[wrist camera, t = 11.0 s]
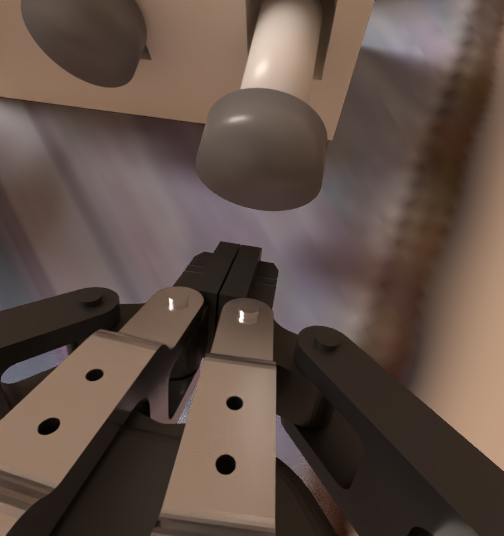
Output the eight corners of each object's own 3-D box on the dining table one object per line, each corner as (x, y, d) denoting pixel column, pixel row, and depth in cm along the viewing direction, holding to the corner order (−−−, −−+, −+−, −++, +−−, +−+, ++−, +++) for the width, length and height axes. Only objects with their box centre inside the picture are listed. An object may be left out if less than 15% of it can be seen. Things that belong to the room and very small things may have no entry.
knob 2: (311, 217, 15) (333, 146, 11) (206, 201, 16) (182, 126, 11) (332, 70, 18) (357, -41, 13) (242, 59, 18) (235, -51, 14)
